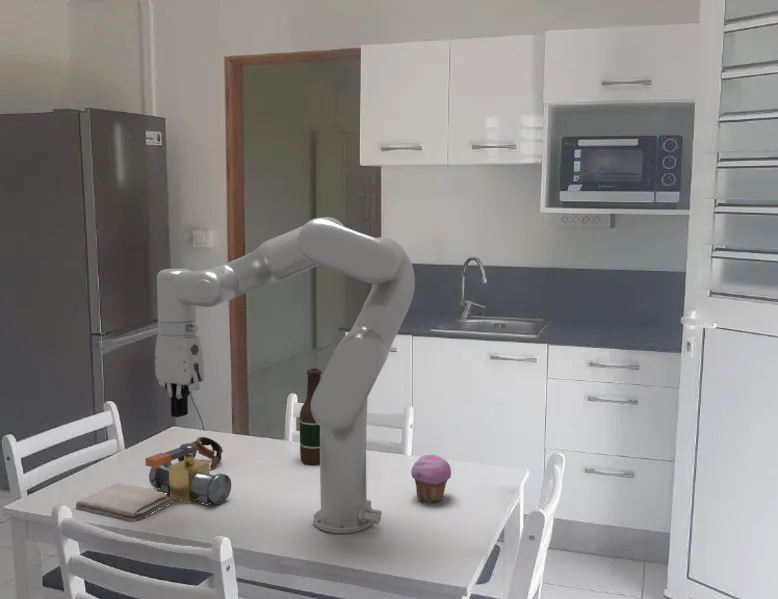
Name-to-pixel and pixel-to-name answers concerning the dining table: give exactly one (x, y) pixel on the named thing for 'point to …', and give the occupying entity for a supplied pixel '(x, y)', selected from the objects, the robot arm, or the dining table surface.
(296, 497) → the dining table surface
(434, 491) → the cupcake
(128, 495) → the washcloth
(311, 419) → the beer bottle
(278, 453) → the dining table surface
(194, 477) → the valve body
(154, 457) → the lever
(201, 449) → the brown curved band
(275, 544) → the dining table surface
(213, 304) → the robot arm
